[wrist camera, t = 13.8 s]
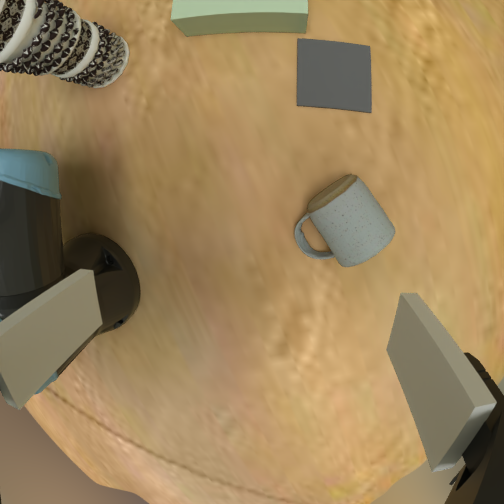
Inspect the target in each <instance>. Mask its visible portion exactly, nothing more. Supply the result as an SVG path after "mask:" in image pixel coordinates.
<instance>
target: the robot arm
mask: <svg viewBox="0 0 504 504" xmlns="http://www.w3.org/2000/svg"><path fill="white" fill-rule="evenodd" d="M60 199H61V194H60V193H59V177H58V164H57V161H56V159H55V158H54V157H53V156H52V155H51V154H49V153H47V152H42V151H34V150H22V149H0V391H1V393H2V395H3V397H4V399H5V401H6V403H8V404H9V405H11V406H13V407H15V408H16V409H18V410H20V409H21V408H22V407H23V406H24V405H25V403H26V402H27V401H28V400H29V399H30V398H31V397H32V396H33V395H34V394H38V393H40V392H42V391H43V390H44V389H45V388H46V387H47V386H48V385H49V384H50V383H51V382H54V381H55V380H56V379H57V378H58V376H59V375H60V374H61V373H62V372H63V371H64V370H65V369H66V367H67V366H68V365H69V364H70V363H71V362H72V361H73V360H74V359H75V358H76V356H77V355H78V354H79V353H80V352H81V351H82V350H83V349H84V348H85V347H86V346H87V344H88V343H89V342H90V341H91V340H92V339H93V338H94V337H95V336H97V335H100V334H102V333H105V332H108V331H111V330H114V329H116V328H118V327H120V326H122V325H123V324H124V323H125V322H126V321H127V320H128V319H129V318H130V317H131V316H132V315H133V314H134V312H135V310H136V308H137V306H138V303H139V298H140V286H139V280H138V277H137V273H136V271H135V268H134V266H133V264H132V262H131V261H130V259H129V257H128V256H127V255H126V253H125V252H124V251H123V250H122V249H121V248H120V247H119V246H118V245H117V244H116V243H114V242H113V241H112V240H110V239H108V238H106V237H104V236H102V235H98V234H83V235H80V236H78V237H76V238H73V239H71V240H70V241H68V242H67V243H66V244H65V245H64V246H63V245H62V233H61V218H60ZM386 350H387V352H388V355H389V357H390V360H391V362H392V364H393V367H394V369H395V372H396V374H397V377H398V379H399V381H400V384H401V387H402V389H403V392H404V394H405V397H406V399H407V402H408V405H409V407H410V410H411V413H412V415H413V418H414V421H415V423H416V426H417V429H418V432H419V435H420V438H421V441H422V443H423V446H424V449H425V452H426V455H427V458H428V461H429V465H430V468H431V471H432V472H435V471H440V470H444V469H448V468H452V467H454V465H455V464H456V463H457V461H458V460H459V459H460V458H461V456H463V458H464V461H465V463H466V464H465V465H464V466H463V468H462V469H461V470H460V471H459V473H458V474H457V475H456V476H455V477H454V478H453V480H452V481H451V482H450V485H452V484H453V483H454V482H455V481H456V482H455V484H454V486H453V488H452V490H451V492H450V494H449V496H448V498H447V500H446V502H445V504H504V395H503V394H502V392H501V391H500V389H499V388H498V386H497V385H496V384H495V382H494V381H493V379H491V376H490V375H489V374H488V372H486V371H485V368H484V367H483V365H482V364H481V363H480V361H479V360H478V359H476V358H475V357H474V356H472V355H471V354H470V353H463V352H462V350H461V349H460V348H459V346H458V345H457V344H456V342H455V341H454V340H453V338H452V337H451V336H450V334H449V333H448V332H447V330H446V329H445V328H444V326H443V325H442V324H441V322H440V321H439V320H438V319H437V317H436V316H435V315H434V314H433V312H432V311H431V310H430V309H429V307H428V306H427V305H426V304H425V302H424V301H423V300H422V299H421V297H420V296H419V295H418V294H417V293H401V294H400V298H399V303H398V307H397V311H396V315H395V319H394V323H393V327H392V331H391V335H390V339H389V342H388V346H387V349H386ZM0 504H1V497H0Z"/></svg>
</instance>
